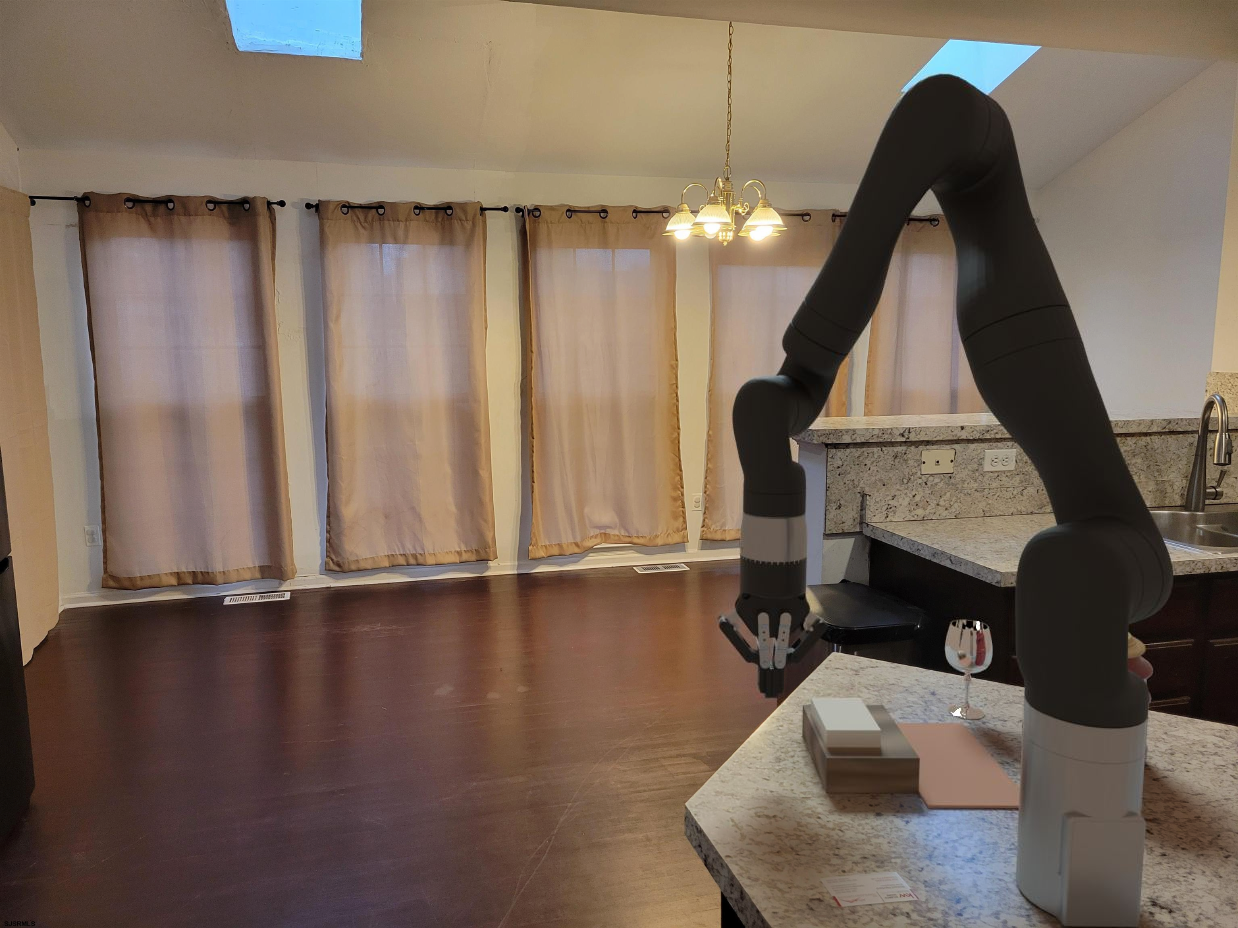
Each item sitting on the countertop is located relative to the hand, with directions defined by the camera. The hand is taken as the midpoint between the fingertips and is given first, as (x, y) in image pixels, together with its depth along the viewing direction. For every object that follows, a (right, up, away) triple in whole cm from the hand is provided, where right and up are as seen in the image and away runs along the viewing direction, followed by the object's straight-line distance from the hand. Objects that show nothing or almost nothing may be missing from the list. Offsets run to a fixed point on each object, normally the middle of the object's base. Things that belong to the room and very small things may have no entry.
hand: (770, 695), depth 97 cm
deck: (+10, -8, 0) cm, 13 cm away
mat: (+21, -8, 0) cm, 22 cm away
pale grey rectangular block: (+9, -4, 0) cm, 9 cm away
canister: (+37, -8, +1) cm, 38 cm away
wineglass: (+29, -6, +13) cm, 32 cm away
